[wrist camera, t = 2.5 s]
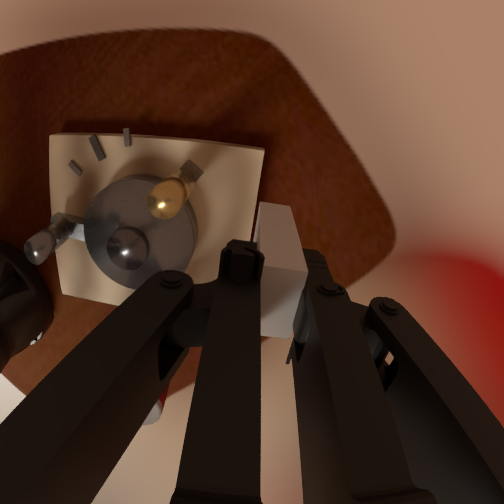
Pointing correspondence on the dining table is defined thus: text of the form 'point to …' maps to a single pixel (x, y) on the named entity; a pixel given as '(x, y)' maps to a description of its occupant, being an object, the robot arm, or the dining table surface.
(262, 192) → the dining table surface
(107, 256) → the cam capstan
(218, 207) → the stand
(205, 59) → the dining table surface
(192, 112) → the dining table surface
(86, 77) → the dining table surface
